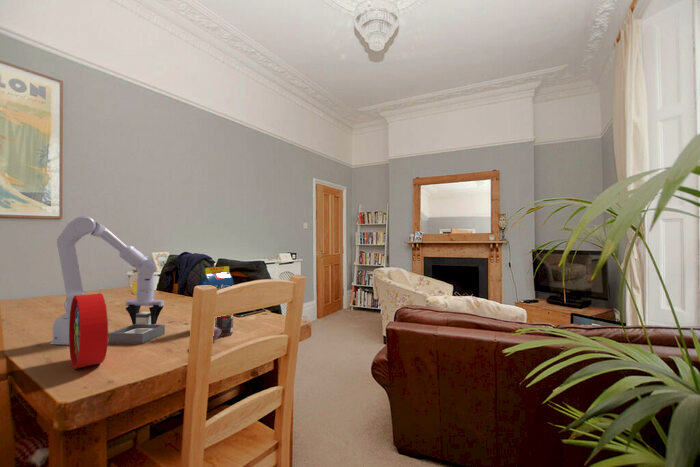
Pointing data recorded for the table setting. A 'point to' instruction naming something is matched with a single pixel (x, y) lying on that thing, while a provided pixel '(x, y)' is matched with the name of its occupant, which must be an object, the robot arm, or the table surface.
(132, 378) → the table surface
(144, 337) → the walled box
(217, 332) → the video game controller
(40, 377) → the table surface
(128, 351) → the table surface
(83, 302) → the toy clock
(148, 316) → the plug
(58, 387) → the table surface
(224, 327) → the supplement bottle
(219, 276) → the blue food package
